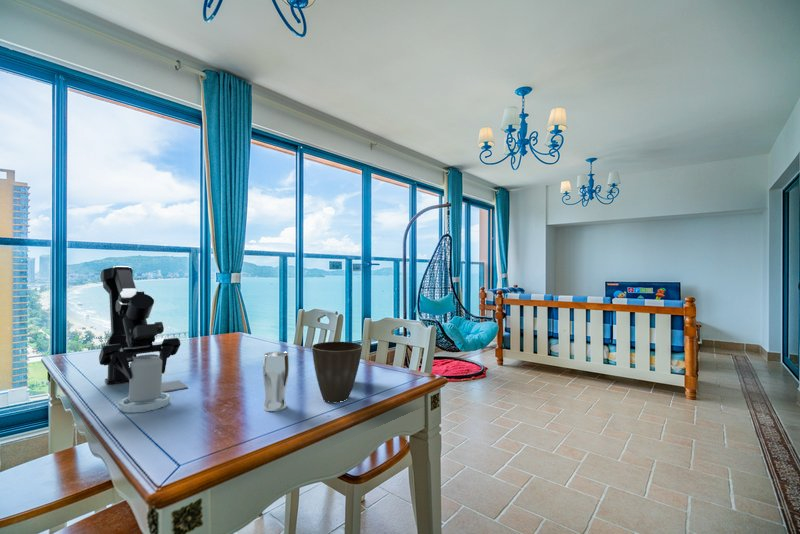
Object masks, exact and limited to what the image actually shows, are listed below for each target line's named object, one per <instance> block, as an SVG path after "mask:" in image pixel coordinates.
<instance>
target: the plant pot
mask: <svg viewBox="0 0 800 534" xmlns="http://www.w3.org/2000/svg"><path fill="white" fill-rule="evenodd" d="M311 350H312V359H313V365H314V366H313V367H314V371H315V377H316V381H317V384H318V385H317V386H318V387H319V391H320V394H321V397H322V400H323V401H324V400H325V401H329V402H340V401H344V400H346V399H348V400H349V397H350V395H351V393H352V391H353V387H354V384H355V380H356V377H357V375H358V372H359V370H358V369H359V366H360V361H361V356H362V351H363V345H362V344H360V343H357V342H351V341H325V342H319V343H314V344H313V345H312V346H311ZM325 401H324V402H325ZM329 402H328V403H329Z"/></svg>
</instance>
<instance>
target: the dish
mask: <svg viewBox="0 0 800 534" xmlns="http://www.w3.org/2000/svg"><path fill="white" fill-rule="evenodd" d="M170 401H171V394H169V392H164V393H163V392H161V395H160V396H159V397H158V398H157V399H156V400H153V401H150V402H145V403H134V402H133V401H131V400H130V399H129V396H127V397H124V398H123V399H121V400H119V402H118V403H119V411H120V412H122V413H126V412H127V413H131V414H136V413H137V412H139V413H146V411H147V412H151V410H152V411H155V409H156V410H159V409H162V408H163V407H166V406H168V405H169V404H170ZM161 407H162V408H161Z"/></svg>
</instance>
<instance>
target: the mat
mask: <svg viewBox="0 0 800 534" xmlns="http://www.w3.org/2000/svg"><path fill="white" fill-rule="evenodd" d="M186 388H187V389H189V387H188V385H186V384H185V383H183V382H182V381H181V380H171V381H166V382H162V387H161V392H163V393H169V391H170V392H174V390H175V391H179V390H180V389H181V390H185V389H186ZM187 389H186V390H187ZM181 390H180V391H181Z"/></svg>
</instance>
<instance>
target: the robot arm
mask: <svg viewBox="0 0 800 534" xmlns="http://www.w3.org/2000/svg"><path fill="white" fill-rule="evenodd" d="M133 271H134V270H133V269H132V267H131V266H128V265H114V266H112V267H108V268H107V267H105V268H104V269H102V270H101V271H100V279H99V280H100V282H102V287H103V289H104V290H105V291H106V293H108V295H109V298H108V299H109V314H110V316H109V317H110V337H109V338H108V340H107V341H106V342H105V345H103V346H102V347H101V349H100V352H99V356H98V360H99V361H98V362H99V365H101V366H107V378H104V382H105V384H106V385H113V384H118V383H119V384H120V383H125V382H129V379H131V378H132V374H131V370H130V363H131V362H132V361H133V360H134V359H133V358H134V357H136V356H138V355H144V354H150V353H155V352H156V353H159V354H158V355H159V356H160V357H159V358H160V359H161V360H162V375H163V374H165V372H166V366H167V361H168V358H171V357H170V356H175V355H176V354H177V353H178V351H179V349H180V346H181V344H182V343H181V340H180V339H179V338H178V337H170V338H169V337H168V338H163V340H162V342H161V343H159V344H154V343H155V341H156V336H158V335H161V334H162V333H164V331H165V329H164V328H165V327H164V324H163V322H162V321H155V322H154V323H149V324H148V321H147V319H149V318H150V315H151V313H152V309H153V306H154V304H155V299H154V298H153V297H152V296H150V295H149V294H146V293H145V291H143V290H141V291H139V290H138V289H137V288H136V285H135V281H134V275H133V274H134V272H133Z"/></svg>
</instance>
